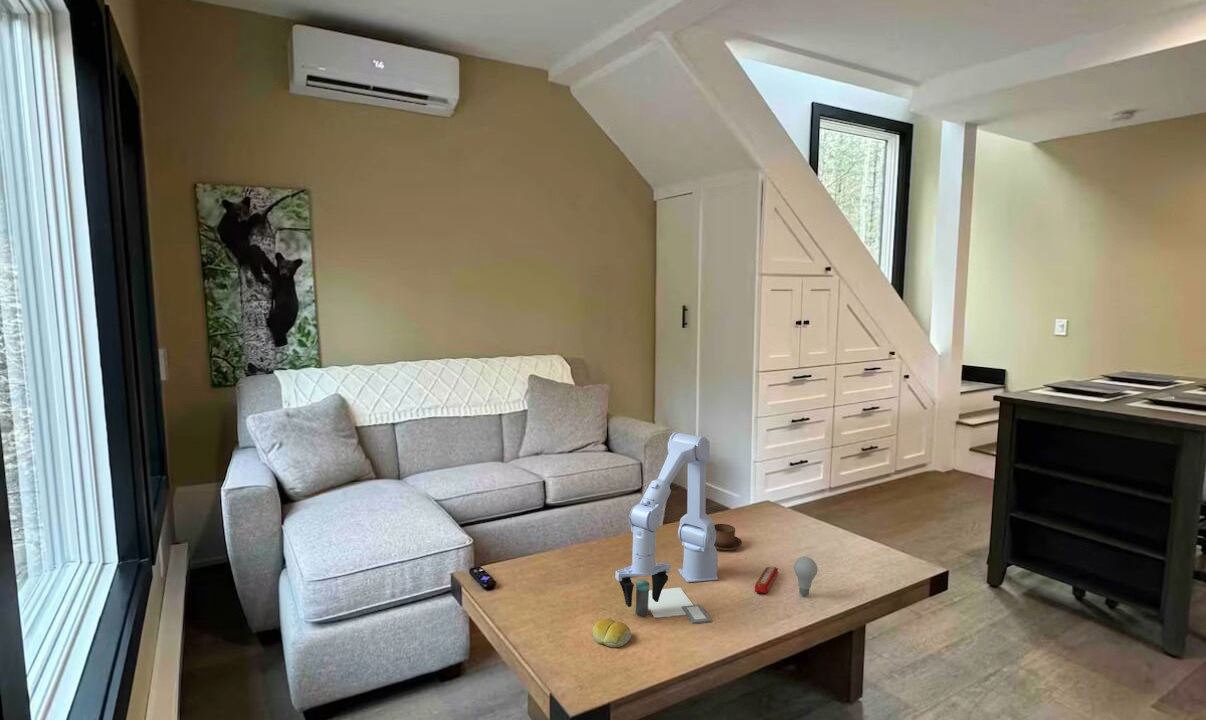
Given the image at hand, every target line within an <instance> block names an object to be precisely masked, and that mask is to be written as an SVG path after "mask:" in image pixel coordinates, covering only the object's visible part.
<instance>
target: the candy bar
mask: <svg viewBox="0 0 1206 720" xmlns="http://www.w3.org/2000/svg"><path fill="white" fill-rule="evenodd" d="M778 574H779V568H778V567H777V566H767V567H766V568H765V569H763V572H762V573H761V575H760V576H759V577H758V579H757V581H756V583H755V586H754V593H757V594H763V593H765V594H766V593H768V592H769V590H770V589H771V587H772V586H773V583H774V582H775V580H776V578H777V576H778Z"/></svg>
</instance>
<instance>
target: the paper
mask: <svg viewBox="0 0 1206 720" xmlns="http://www.w3.org/2000/svg"><path fill="white" fill-rule="evenodd" d="M690 605H694V604H693V602H692V601H691V600H690V598H689V597H688V596H687V595H686V593H685V592H684V590H683V589H682V588H681V587H673V588H672V587H671V588H663V589H662V591H661V594H660V597H659V600H658V602H655V601H654V600H653V599H652V589H651V590H650V589H649V598H648V611H650V613H651V615H652V616H653V617H654V619H657V618H659V619H660V618H667V617H670V618H671V617H679V616H687V615H686V613H685V612H684V610H683V609H682V606H690Z"/></svg>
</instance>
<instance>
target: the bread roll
mask: <svg viewBox="0 0 1206 720" xmlns="http://www.w3.org/2000/svg"><path fill="white" fill-rule="evenodd" d="M592 637H593V639H594V641H595V642H596V643H598V644H599V645H605V647H609V648H620V647H623V646H624V645H626V644H628V642H629V641H630V640H631V637H632V632H631V628H630V627H629V626H628V625H627V624H625V623H623V622H622V621H617V622H616V621H615V620H614V619H612V618H603V619H600V620H598V621H597V622H596V623H595V624H594V625H593V628H592Z"/></svg>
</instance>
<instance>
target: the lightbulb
mask: <svg viewBox="0 0 1206 720" xmlns="http://www.w3.org/2000/svg"><path fill="white" fill-rule="evenodd" d="M793 570H794V571H793V572H794V573H795V575H796V577H797V581H798V587H799V588H798V589H799V591H798V593H799V595H801V596H802V597H807V596H809V595H810V589H811V586H812V582H813V580H814V579H815V577H816V576H817V574H818V566H817V563H816V561H815V560H814V559H812V558H811V557H809V556H801V557H799V558H797V559H796V560H795V562H794V564H793Z"/></svg>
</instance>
